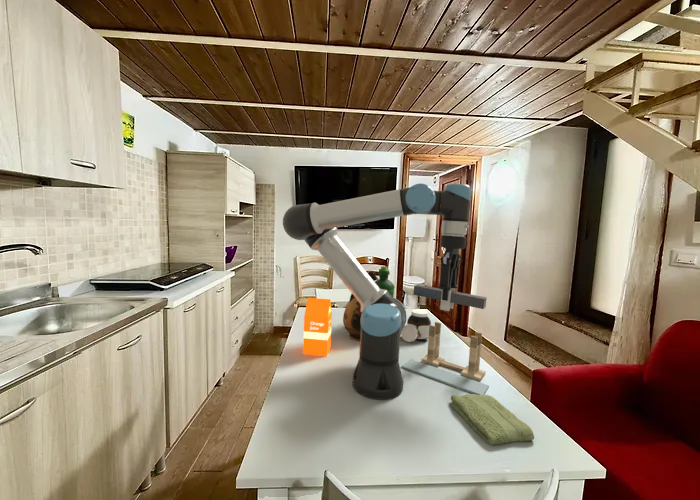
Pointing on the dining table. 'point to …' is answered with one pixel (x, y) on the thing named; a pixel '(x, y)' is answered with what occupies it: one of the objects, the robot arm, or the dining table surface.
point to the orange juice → (317, 327)
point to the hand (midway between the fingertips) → (446, 308)
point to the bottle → (385, 280)
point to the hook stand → (435, 360)
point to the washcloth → (491, 419)
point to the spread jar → (417, 326)
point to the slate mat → (446, 377)
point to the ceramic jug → (354, 315)
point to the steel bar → (455, 296)
